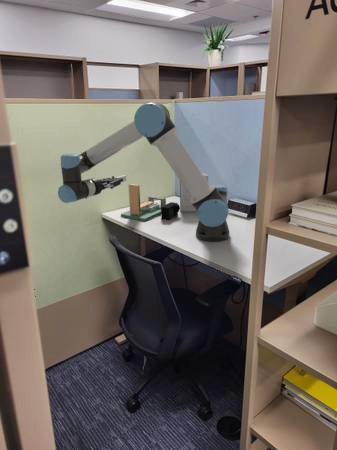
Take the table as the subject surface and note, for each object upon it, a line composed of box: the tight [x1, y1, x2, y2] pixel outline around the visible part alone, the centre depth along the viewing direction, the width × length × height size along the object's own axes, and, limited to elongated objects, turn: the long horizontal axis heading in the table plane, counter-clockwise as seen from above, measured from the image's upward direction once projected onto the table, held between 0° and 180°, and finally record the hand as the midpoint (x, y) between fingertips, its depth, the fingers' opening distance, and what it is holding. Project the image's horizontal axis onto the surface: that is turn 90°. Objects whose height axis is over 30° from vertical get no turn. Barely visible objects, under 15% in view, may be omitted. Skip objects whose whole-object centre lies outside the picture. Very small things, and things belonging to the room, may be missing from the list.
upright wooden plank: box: [128, 183, 155, 216], centre depth 186 cm, size 15×6×16 cm, turn 147°
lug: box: [148, 195, 167, 207], centre depth 198 cm, size 3×10×5 cm, turn 57°
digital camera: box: [160, 201, 180, 222], centre depth 182 cm, size 10×5×7 cm, turn 150°
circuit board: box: [120, 204, 161, 222], centre depth 191 cm, size 25×16×2 cm, turn 147°
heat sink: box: [141, 202, 160, 212], centre depth 193 cm, size 8×8×3 cm
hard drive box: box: [179, 173, 209, 212], centre depth 192 cm, size 16×8×20 cm, turn 84°
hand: (124, 178), depth 171 cm, fingers closed
